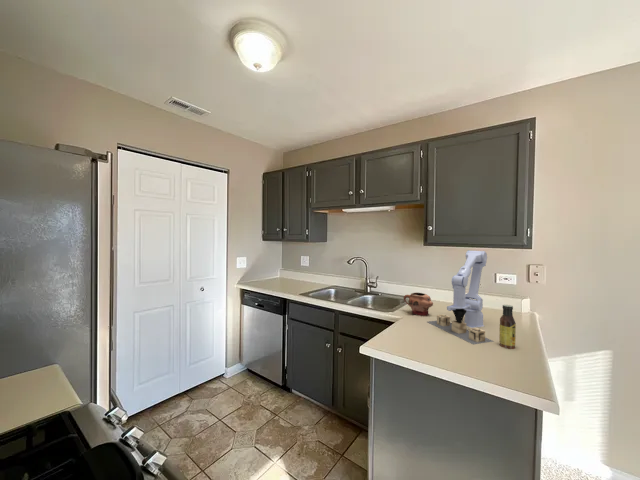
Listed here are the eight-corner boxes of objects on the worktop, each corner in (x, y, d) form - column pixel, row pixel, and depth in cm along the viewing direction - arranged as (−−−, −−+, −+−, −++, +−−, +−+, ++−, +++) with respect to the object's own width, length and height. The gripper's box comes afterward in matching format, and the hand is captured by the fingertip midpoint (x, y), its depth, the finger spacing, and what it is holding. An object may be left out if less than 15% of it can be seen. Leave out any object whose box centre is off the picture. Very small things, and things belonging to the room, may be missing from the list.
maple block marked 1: (443, 322, 159) (443, 314, 159) (450, 325, 155) (450, 316, 154) (436, 323, 158) (436, 314, 158) (442, 326, 153) (443, 317, 153)
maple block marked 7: (476, 337, 137) (476, 327, 137) (485, 341, 133) (485, 330, 132) (468, 338, 136) (468, 328, 136) (477, 342, 131) (477, 332, 131)
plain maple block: (458, 329, 148) (459, 320, 148) (466, 332, 144) (466, 323, 143) (451, 330, 147) (451, 321, 147) (458, 333, 142) (458, 324, 142)
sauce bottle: (515, 351, 122) (516, 308, 122) (499, 348, 126) (500, 306, 125) (514, 346, 128) (515, 305, 127) (499, 343, 131) (499, 303, 131)
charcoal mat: (443, 320, 165) (443, 319, 165) (494, 342, 132) (494, 341, 132) (426, 322, 161) (426, 321, 161) (473, 345, 129) (473, 344, 129)
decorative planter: (399, 313, 180) (399, 292, 179) (406, 309, 189) (406, 289, 189) (430, 319, 167) (430, 297, 167) (435, 314, 177) (436, 293, 176)
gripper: (454, 300, 139) (453, 326, 139) (476, 298, 143) (475, 323, 143) (444, 297, 146) (443, 322, 146) (465, 295, 150) (465, 319, 150)
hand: (458, 322), depth 145 cm, fingers closed, pressing on plain maple block
